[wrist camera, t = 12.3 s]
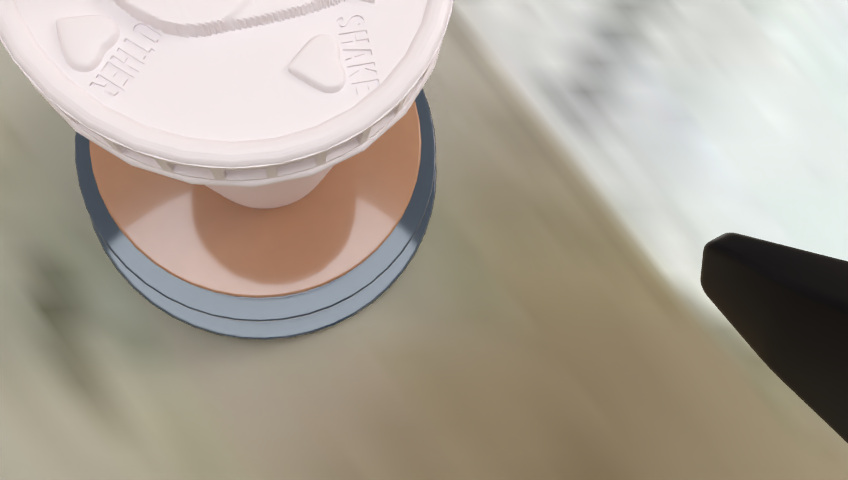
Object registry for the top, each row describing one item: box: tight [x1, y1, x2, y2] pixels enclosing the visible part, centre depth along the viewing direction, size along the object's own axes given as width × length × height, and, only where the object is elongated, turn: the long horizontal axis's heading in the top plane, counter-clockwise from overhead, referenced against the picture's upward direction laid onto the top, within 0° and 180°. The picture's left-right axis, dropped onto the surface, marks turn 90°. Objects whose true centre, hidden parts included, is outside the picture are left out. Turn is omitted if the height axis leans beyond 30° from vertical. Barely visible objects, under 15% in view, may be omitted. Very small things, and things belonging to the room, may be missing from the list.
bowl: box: [75, 88, 437, 340], centre depth 21 cm, size 11×11×4 cm
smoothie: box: [0, 0, 454, 209], centre depth 12 cm, size 6×6×14 cm
